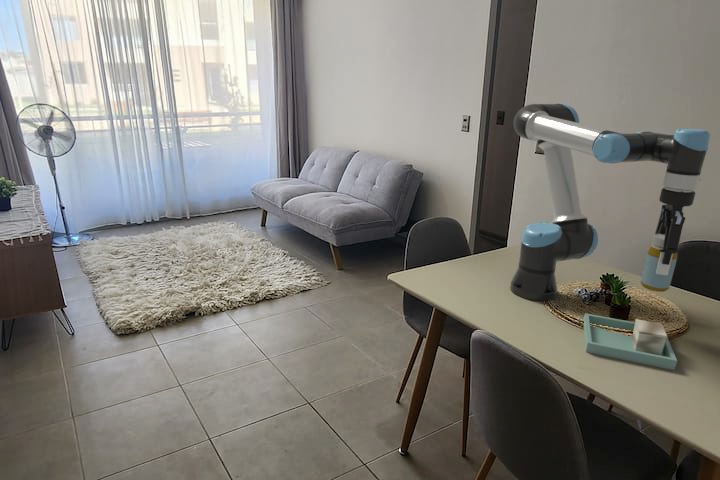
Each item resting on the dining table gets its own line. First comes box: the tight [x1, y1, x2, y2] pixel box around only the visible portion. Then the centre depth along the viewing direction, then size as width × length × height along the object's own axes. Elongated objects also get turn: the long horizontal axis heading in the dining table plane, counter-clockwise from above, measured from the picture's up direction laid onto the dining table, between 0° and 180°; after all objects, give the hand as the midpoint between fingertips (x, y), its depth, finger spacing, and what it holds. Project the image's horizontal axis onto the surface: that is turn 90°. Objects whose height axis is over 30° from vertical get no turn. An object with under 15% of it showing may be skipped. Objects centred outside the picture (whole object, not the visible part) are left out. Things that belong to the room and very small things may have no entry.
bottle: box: [640, 233, 681, 293], centre depth 129 cm, size 7×7×15 cm
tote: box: [582, 312, 678, 371], centre depth 125 cm, size 20×18×4 cm
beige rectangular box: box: [631, 318, 668, 356], centre depth 123 cm, size 6×7×6 cm
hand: (658, 269), depth 129 cm, fingers closed on bottle, 7 cm apart
